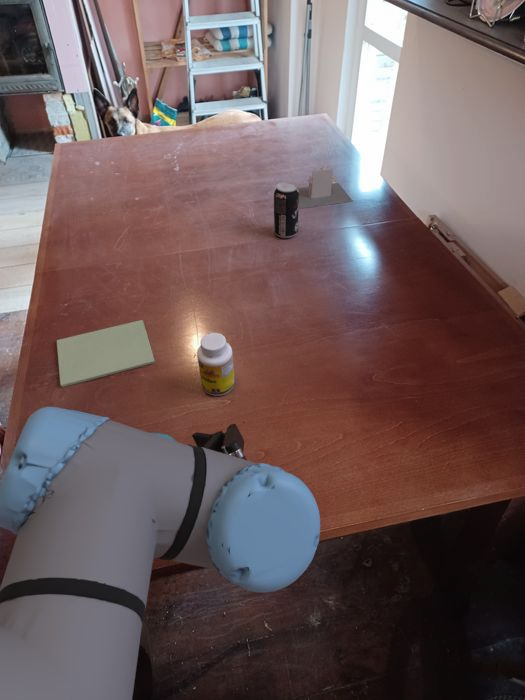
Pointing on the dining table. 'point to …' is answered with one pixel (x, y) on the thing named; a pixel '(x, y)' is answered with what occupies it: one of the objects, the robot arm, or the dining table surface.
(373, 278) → the dining table surface
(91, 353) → the mat
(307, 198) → the architectural model
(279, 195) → the beverage can
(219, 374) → the supplement bottle
